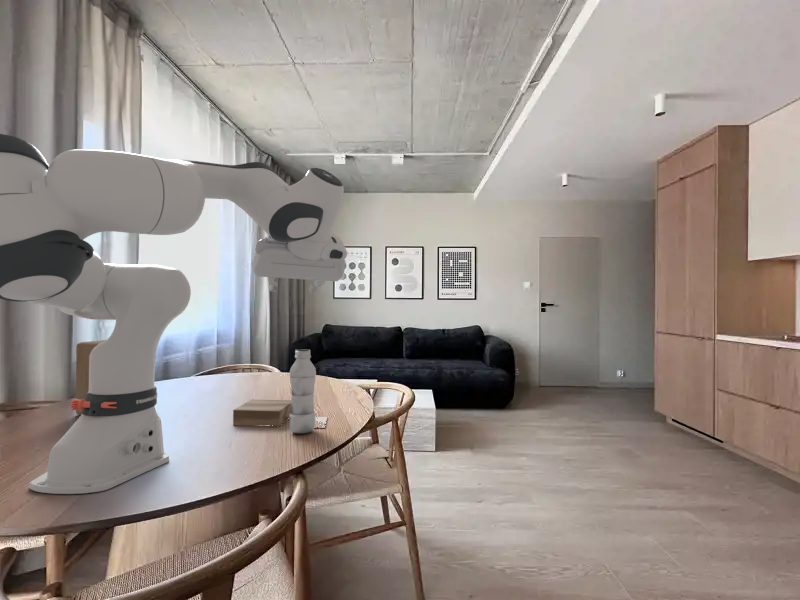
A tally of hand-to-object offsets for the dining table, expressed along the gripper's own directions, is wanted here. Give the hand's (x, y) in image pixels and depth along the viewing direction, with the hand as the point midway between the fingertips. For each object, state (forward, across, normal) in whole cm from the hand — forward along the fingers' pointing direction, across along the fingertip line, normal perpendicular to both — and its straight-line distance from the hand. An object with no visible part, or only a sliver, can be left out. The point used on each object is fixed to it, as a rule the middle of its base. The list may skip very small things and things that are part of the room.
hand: (292, 290), depth 104 cm
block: (+58, -37, +13) cm, 71 cm away
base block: (+38, 0, -8) cm, 39 cm away
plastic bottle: (+28, +5, -20) cm, 35 cm away
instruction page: (+32, +9, -15) cm, 37 cm away
